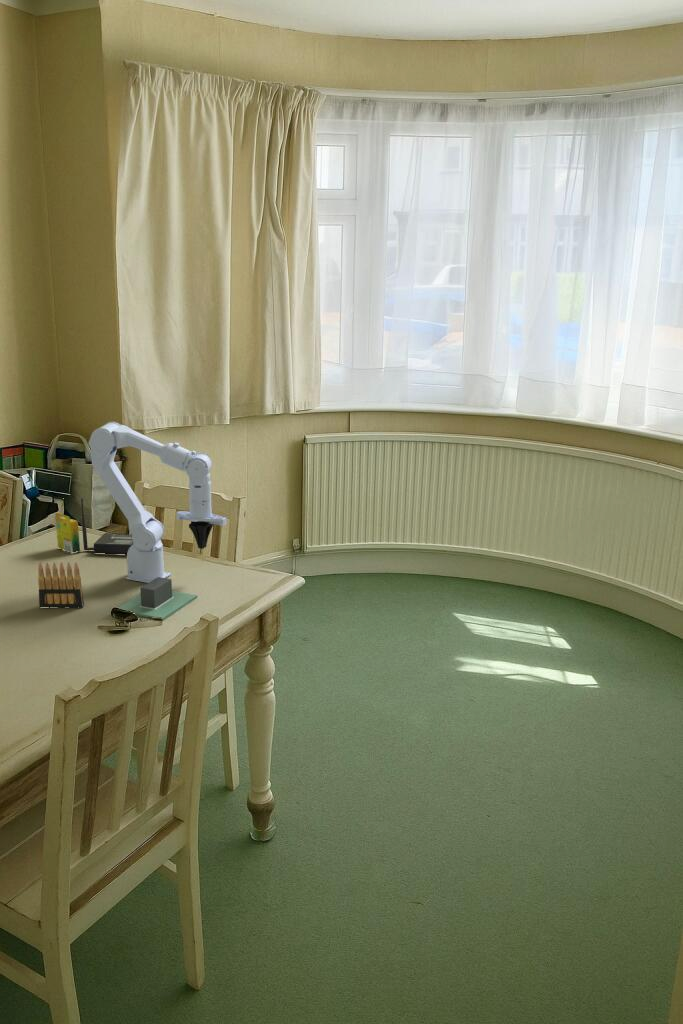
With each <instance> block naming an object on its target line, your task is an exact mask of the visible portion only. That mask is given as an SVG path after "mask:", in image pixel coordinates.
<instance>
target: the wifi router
mask: <svg viewBox="0 0 683 1024" xmlns="http://www.w3.org/2000/svg"><path fill="white" fill-rule="evenodd" d="M80 504H81V530H82V531H81V532H82V540H83V541H82V543H83V551H84V550H94V551H93V553H105V554H125V555H127V553H128V550H129V548H130V547H131V546H132V545H134V543H133V538H132V534H131V533H128V534H126V533H124V534H123V533H121V534H120V533H118V534H117V533H115V534H114V532H104V533H103V534H102V535H101V536H100V537H99V538H98V539H97V540H96V541H95V542H94V543H93V547H88V535H87V522H86V515H85V510H84V508H85V507H84V498H83V497H81V498H80Z"/></svg>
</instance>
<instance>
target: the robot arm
mask: <svg viewBox="0 0 683 1024" xmlns="http://www.w3.org/2000/svg"><path fill="white" fill-rule="evenodd" d="M87 444H88V446H89V448H90V455H91V456H90V457H91V458H90V459H91V465H92V467H93V469H94V471H95V472H96V473H97V475H98V476H99V478H100V479H101V481H102V482H103V484H104V486H105V488H106V489H107V491H108V492H109V493H110V496H111V497H112V498H113V500H114V501H115V503H116V504H117V506H118V507H119V509H120V510H121V512H122V513H123V515H124V517H125V519H127V521H128V523H127V524H128V531H129V534H130V535H131V534H132V538H133V543H134V545H132V546H131V547H130V548H129V550H128V553H127V556H126V566H127V567H126V568H127V576H126V577H125V579H126V580H129V581H130V580H131V581H136V582H141V583H145V584H147V583H149V582H151V581H152V580H154V579H156V578H157V577H161V578H167V577H169V576H171V575H172V574H171V572H165V566H164V565H165V563H164V561H165V560H164V544H163V542H162V538H163V537H164V535H165V534H164V533H165V527H164V525H163V523H162V522H161V521H159V520H158V519H156V518H155V517H154V515H153V514H152V513H151V512H149V511H147V510H146V509H145V508H144V506H143V505H142V503H141V502H140V500H139V498H138V496H137V495H136V493H135V492H134V491H133V489H132V488H131V485H130V484H129V483H128V481H127V480H126V478H125V477H124V475H123V474H122V472H121V470H120V469H119V468H118V466H117V464H116V462H115V457H116V454H117V451H118V449H121V448H127V447H133V448H136V449H137V450H141V451H144V452H146V453H148V454H152V455H154V456H157V457H158V458H159V459H160V461H161V463H162V464H164V465H167V466H170V467H172V468H174V469H176V470H179V471H181V472H185V473H186V474H187V476H188V489H189V492H188V493H189V511H182V510H180V511H177V512H176V514H175V516H176V520H178V521H181V520H185V521H190V523H189V524H188V527H189V529H190V530H191V532H192V535H193V536H194V539H195V541H196V544H197V547H198V549H201V550H203V549H205V548H207V544H208V539H209V536H210V534H211V531H212V529H213V527H214V525H218V526H219V527H224V526H226V525H227V517H225V516H221V515H217V514H214V513H213V512H212V511H213V509H212V508H213V507H212V484H211V483H212V482H211V469H212V467H213V461H212V459H211V458H210V457H209V456H208V455H207V454H206V453H205V452H197V451H196V450H192V451H191V450H189V449H186V448H185V447H182V446H180V443H179V442H176V441H175V442H174V443H172V442H168V443H166V444H163V443H161V442H159V441H157V440H155V439H152V438H151V437H149V436H146V435H144V434H142V433H140V432H138V431H136V430H134V429H132V428H130V427H129V426H127V425H124V424H120V423H118V422H116V421H109V422H107V423H105V424H104V425H102V426H100V427H98V428H96V429H95V430H94V431H92V433H91V434H90V438H89V440H88V443H87Z"/></svg>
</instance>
